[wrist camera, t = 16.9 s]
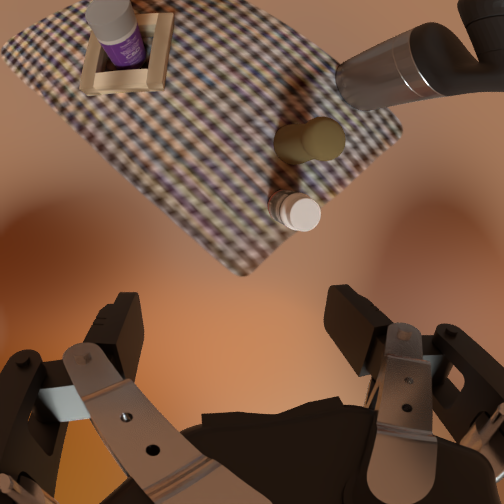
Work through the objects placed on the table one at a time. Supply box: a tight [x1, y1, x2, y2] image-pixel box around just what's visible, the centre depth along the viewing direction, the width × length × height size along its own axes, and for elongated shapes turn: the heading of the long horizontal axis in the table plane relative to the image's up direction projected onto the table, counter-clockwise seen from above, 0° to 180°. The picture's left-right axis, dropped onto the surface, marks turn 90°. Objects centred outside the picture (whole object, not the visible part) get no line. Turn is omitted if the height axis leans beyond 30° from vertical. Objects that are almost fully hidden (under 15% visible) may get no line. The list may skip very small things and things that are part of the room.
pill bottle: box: [268, 190, 321, 231], centre depth 37 cm, size 5×5×8 cm
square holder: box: [79, 13, 174, 96], centre depth 28 cm, size 11×11×4 cm
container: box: [85, 0, 146, 71], centre depth 23 cm, size 5×5×15 cm
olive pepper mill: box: [274, 117, 346, 165], centre depth 33 cm, size 6×6×11 cm
